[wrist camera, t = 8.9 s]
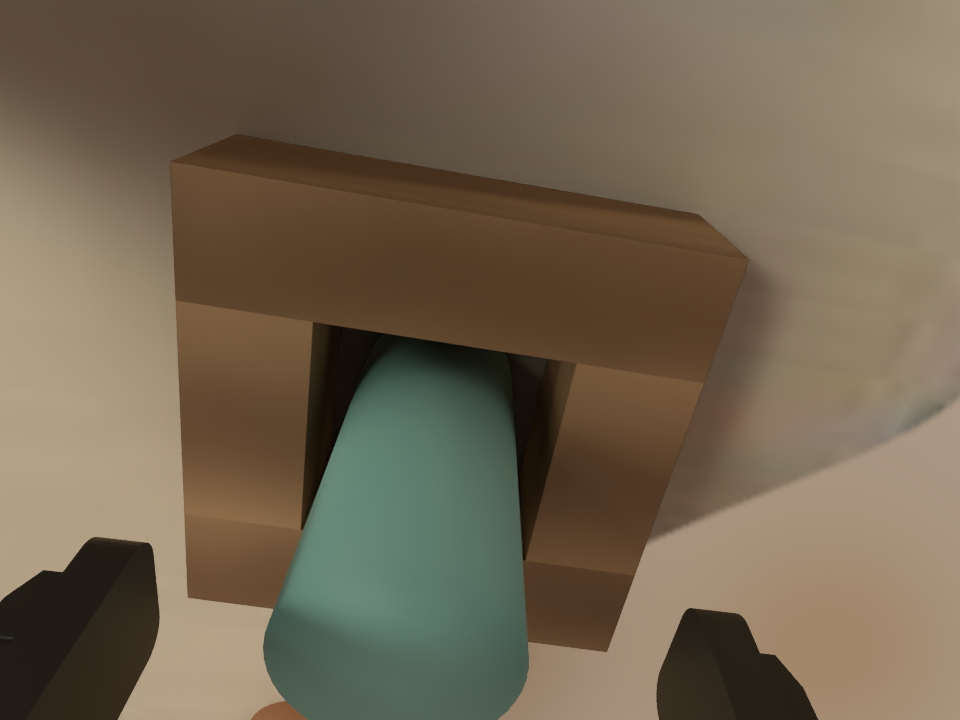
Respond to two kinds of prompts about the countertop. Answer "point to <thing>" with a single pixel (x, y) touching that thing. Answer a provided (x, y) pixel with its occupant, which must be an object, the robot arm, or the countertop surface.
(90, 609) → the robot arm
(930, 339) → the countertop surface
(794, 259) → the countertop surface
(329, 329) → the brown wooden square frame
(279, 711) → the short dowel
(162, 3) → the countertop surface
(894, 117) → the countertop surface
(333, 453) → the medium dowel
